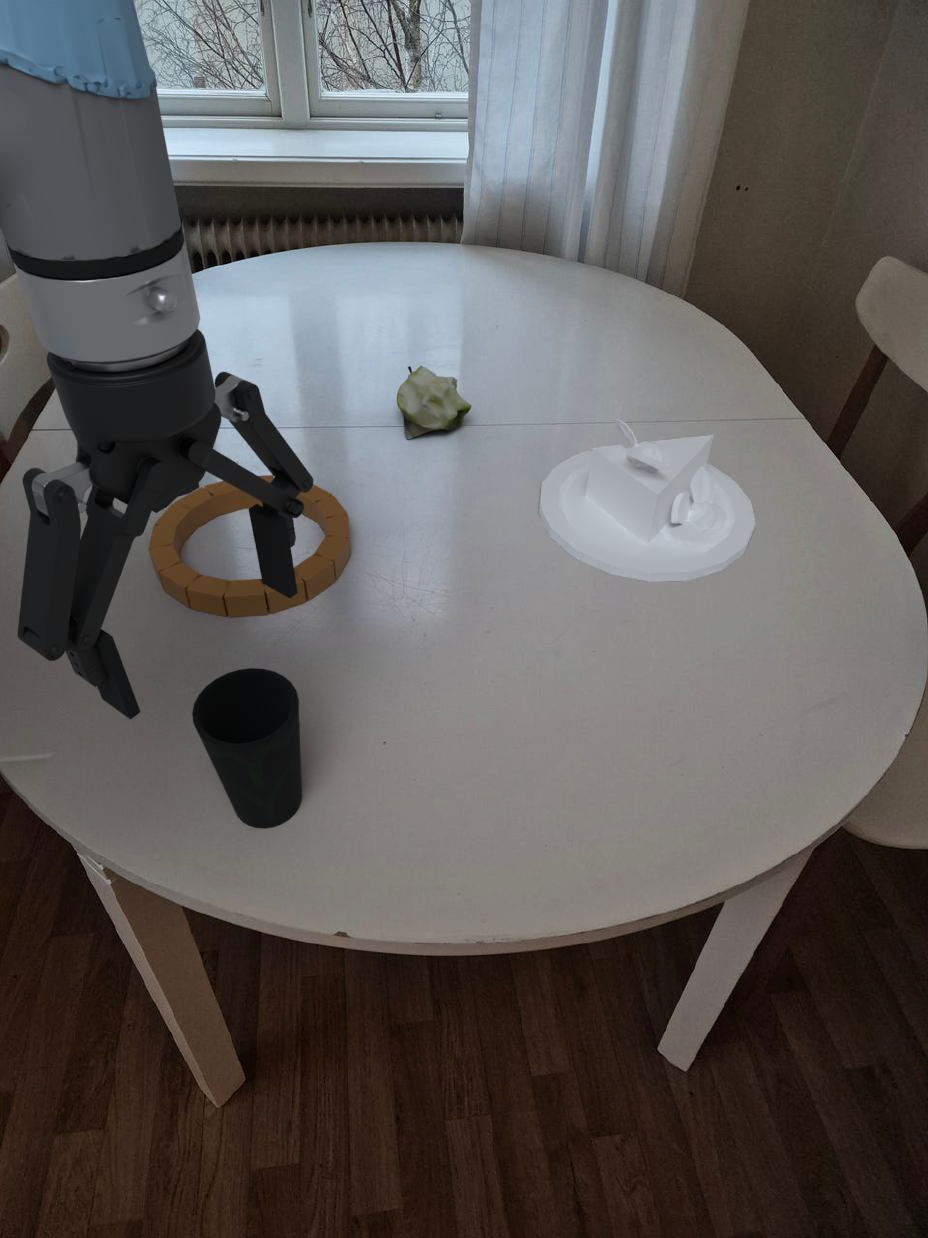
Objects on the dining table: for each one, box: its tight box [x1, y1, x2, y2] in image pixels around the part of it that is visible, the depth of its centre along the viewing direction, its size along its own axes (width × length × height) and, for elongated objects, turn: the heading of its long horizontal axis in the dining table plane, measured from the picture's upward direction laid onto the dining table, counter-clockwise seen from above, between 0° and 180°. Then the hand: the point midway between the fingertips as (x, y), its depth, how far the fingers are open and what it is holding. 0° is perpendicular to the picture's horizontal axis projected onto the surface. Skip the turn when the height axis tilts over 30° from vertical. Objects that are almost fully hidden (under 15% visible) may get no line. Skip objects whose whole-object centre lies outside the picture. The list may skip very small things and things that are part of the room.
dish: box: [538, 418, 756, 583], centre depth 97 cm, size 25×25×11 cm
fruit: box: [396, 365, 472, 441], centre depth 113 cm, size 9×9×8 cm
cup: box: [191, 667, 303, 829], centre depth 67 cm, size 8×8×12 cm
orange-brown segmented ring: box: [148, 474, 352, 618], centre depth 94 cm, size 21×21×3 cm
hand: (206, 643), depth 57 cm, fingers open, 13 cm apart
